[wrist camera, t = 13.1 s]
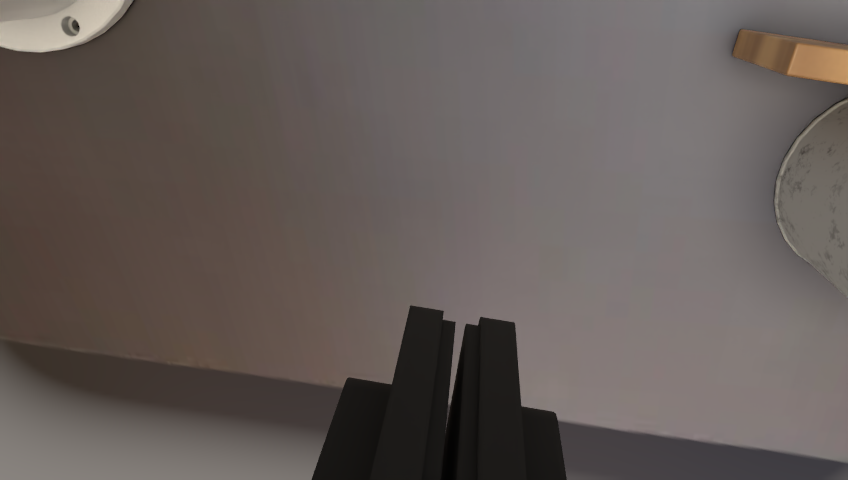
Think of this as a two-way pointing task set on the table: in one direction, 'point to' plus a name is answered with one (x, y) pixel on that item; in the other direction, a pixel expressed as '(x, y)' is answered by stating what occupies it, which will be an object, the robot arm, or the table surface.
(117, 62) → the table surface
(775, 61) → the corner stop
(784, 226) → the grey speckled cylinder
